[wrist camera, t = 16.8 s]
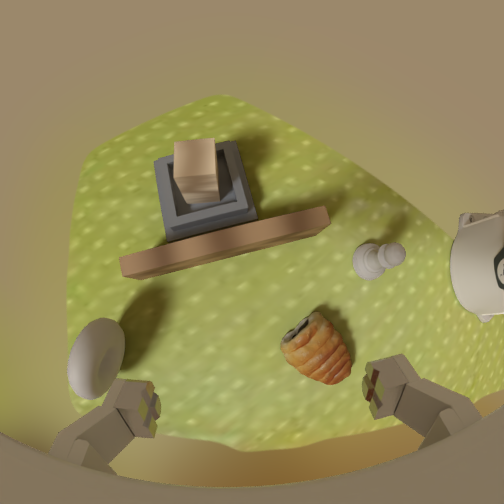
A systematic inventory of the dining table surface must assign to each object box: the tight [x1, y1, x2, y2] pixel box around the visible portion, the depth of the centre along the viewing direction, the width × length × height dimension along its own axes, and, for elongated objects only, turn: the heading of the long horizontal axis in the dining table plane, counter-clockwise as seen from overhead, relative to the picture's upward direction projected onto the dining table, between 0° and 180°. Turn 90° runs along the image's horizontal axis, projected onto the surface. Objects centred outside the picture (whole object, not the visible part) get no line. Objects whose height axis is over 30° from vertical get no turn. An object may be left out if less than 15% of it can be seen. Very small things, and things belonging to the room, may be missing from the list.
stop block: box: [174, 138, 220, 204], centre depth 29 cm, size 4×4×8 cm
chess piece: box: [353, 242, 406, 280], centre depth 30 cm, size 5×5×8 cm
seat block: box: [154, 141, 258, 243], centre depth 33 cm, size 11×11×3 cm
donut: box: [67, 318, 125, 400], centre depth 26 cm, size 10×3×10 cm, turn 161°
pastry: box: [281, 312, 352, 385], centre depth 30 cm, size 9×7×4 cm
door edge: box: [119, 206, 331, 280], centre depth 30 cm, size 22×2×6 cm, turn 105°
